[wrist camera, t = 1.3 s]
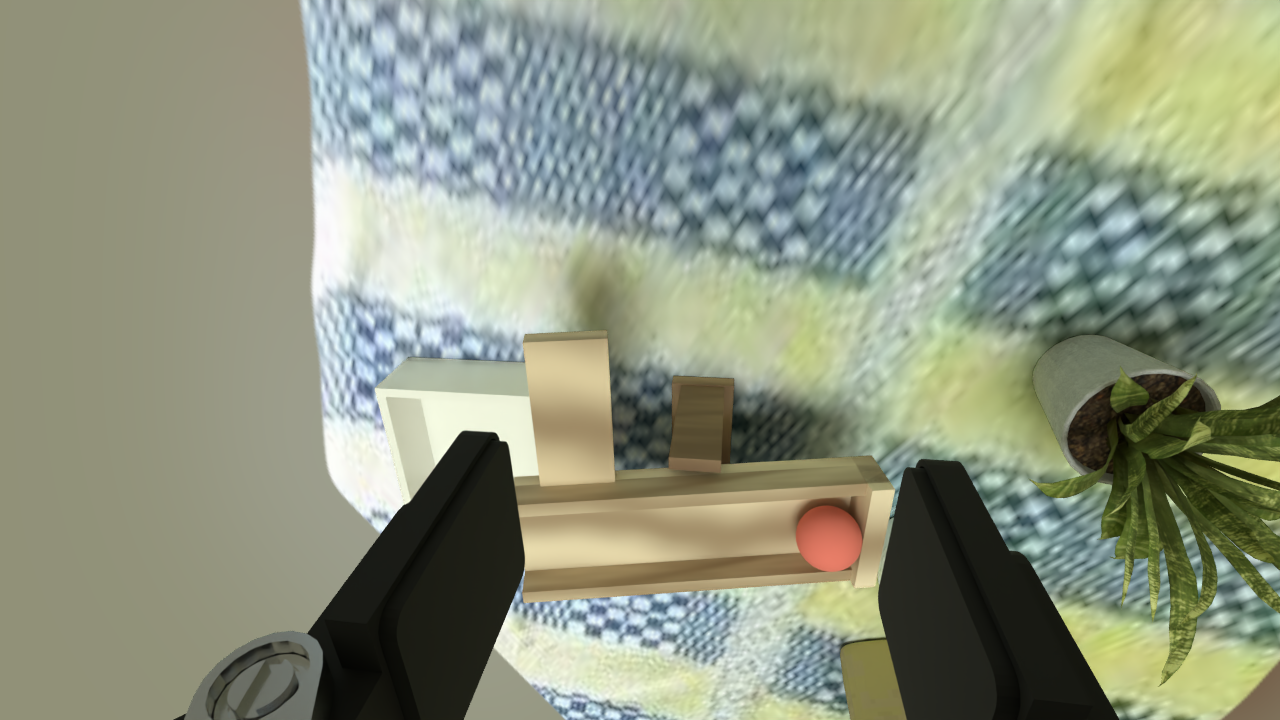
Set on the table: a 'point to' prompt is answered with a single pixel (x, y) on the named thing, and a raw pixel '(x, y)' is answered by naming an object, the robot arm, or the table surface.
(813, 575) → the lever
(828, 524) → the ball
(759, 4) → the table surface
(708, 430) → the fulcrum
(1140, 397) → the house plant
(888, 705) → the cheese
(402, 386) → the dish
